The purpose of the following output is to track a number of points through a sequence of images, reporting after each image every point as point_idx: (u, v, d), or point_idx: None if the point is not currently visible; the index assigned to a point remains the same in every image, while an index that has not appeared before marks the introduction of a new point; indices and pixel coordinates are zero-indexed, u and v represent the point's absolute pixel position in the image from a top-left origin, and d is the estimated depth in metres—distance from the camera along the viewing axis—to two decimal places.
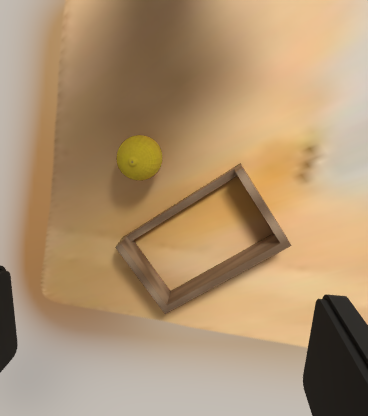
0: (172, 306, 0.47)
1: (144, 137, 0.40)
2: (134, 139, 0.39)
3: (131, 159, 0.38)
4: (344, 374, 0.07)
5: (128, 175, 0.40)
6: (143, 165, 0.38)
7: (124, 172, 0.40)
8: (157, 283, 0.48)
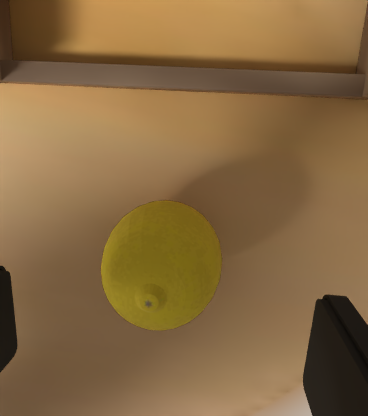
0: None
1: None
2: None
3: (145, 308, 0.12)
4: (344, 374, 0.07)
5: (198, 266, 0.13)
6: (134, 268, 0.12)
7: (202, 280, 0.13)
8: None
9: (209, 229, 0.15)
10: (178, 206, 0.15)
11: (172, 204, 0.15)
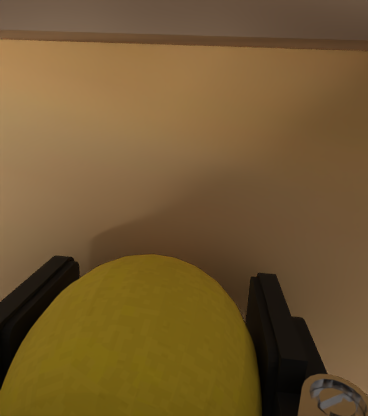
0: None
1: None
2: None
3: None
4: (258, 337, 0.08)
5: None
6: None
7: None
8: None
9: (236, 333, 0.07)
10: (169, 281, 0.07)
11: (157, 275, 0.07)
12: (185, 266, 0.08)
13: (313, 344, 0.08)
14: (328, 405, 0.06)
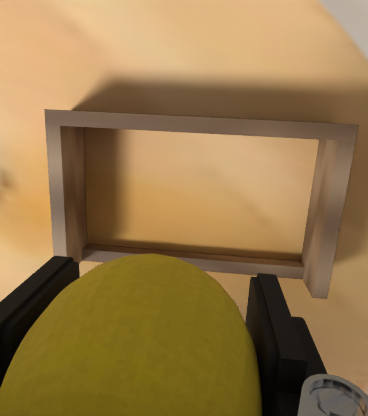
0: (329, 131, 0.21)
1: None
2: None
3: None
4: (258, 337, 0.08)
5: None
6: None
7: None
8: (322, 179, 0.23)
9: (236, 332, 0.07)
10: (169, 281, 0.07)
11: (156, 275, 0.07)
12: (185, 266, 0.08)
13: (313, 344, 0.08)
14: (328, 405, 0.06)
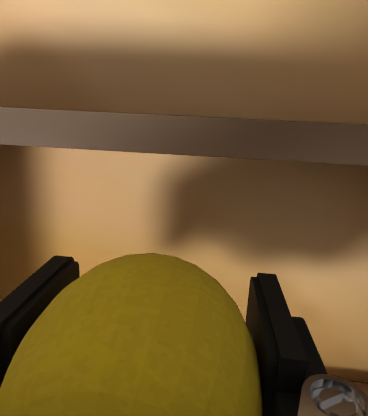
0: None
1: None
2: None
3: None
4: (258, 337, 0.08)
5: None
6: None
7: None
8: None
9: (236, 332, 0.07)
10: (169, 280, 0.07)
11: (156, 274, 0.07)
12: (185, 265, 0.08)
13: (313, 344, 0.08)
14: (328, 405, 0.06)
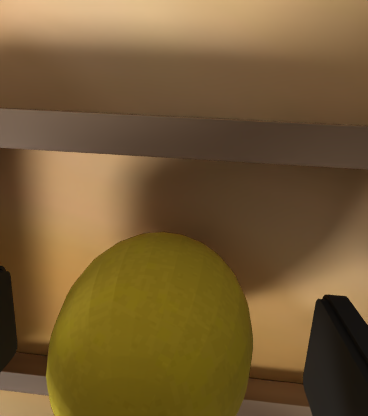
0: None
1: None
2: None
3: None
4: (344, 374, 0.07)
5: (217, 373, 0.07)
6: (94, 385, 0.06)
7: (224, 398, 0.07)
8: None
9: (232, 286, 0.09)
10: (180, 248, 0.09)
11: (170, 244, 0.09)
12: (191, 239, 0.10)
13: None
14: None
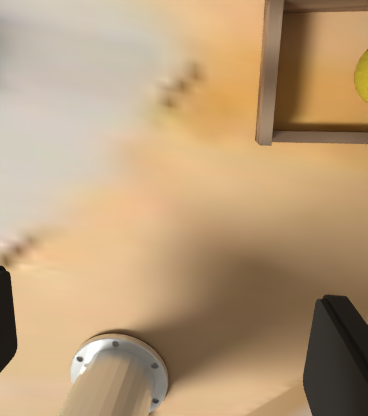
0: None
1: (367, 94, 0.26)
2: None
3: None
4: (344, 374, 0.07)
5: None
6: None
7: None
8: None
9: None
10: None
11: None
12: None
13: None
14: None
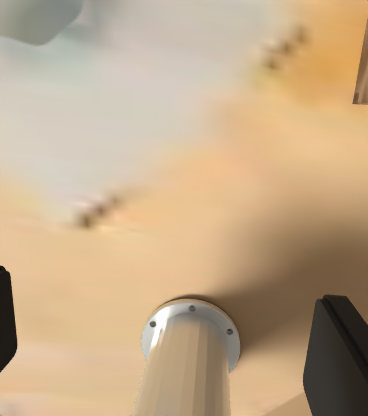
0: None
1: None
2: None
3: None
4: (344, 374, 0.07)
5: None
6: None
7: None
8: None
9: None
10: None
11: None
12: None
13: None
14: None
